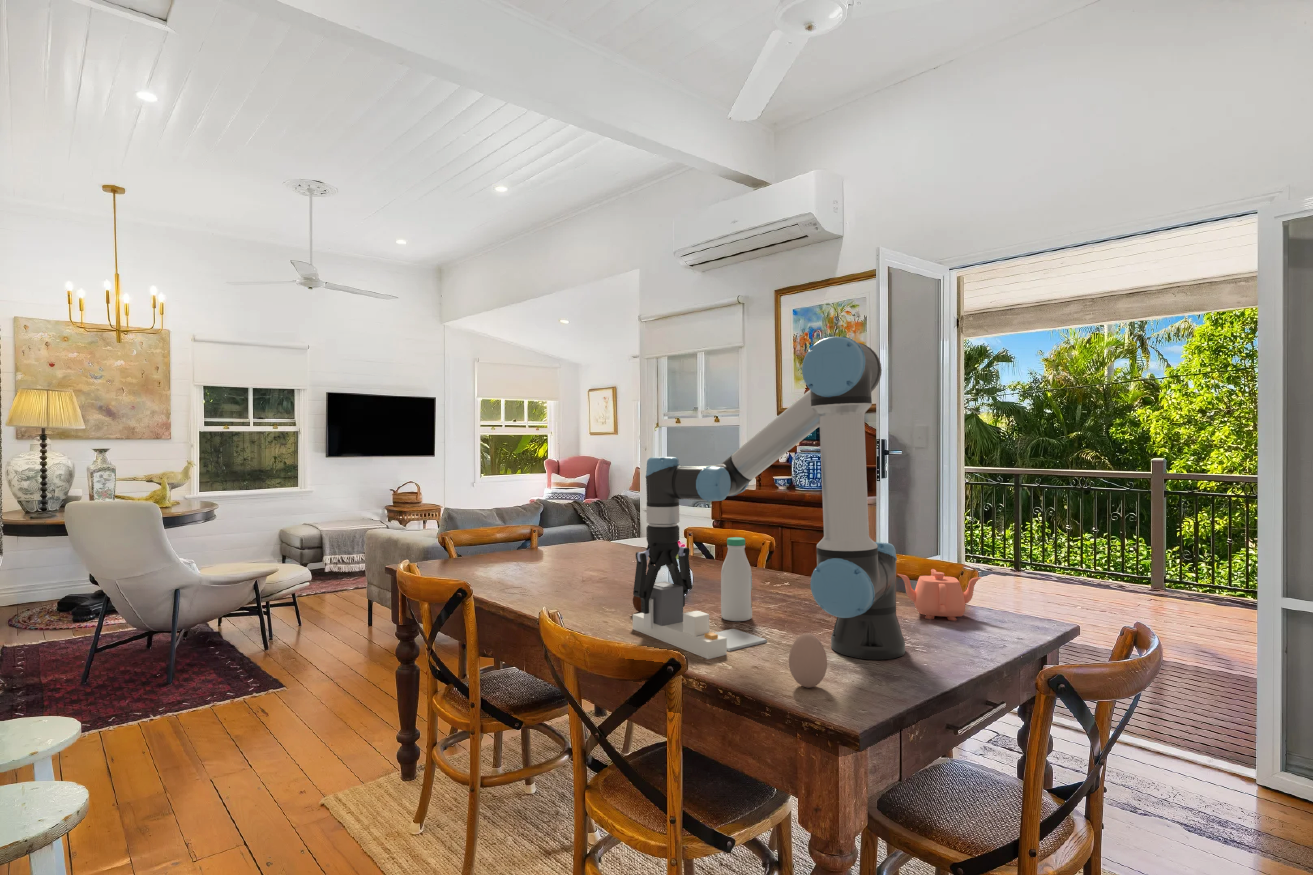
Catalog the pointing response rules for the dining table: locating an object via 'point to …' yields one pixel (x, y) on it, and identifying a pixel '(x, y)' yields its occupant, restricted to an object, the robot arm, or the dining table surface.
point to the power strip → (684, 638)
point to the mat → (740, 639)
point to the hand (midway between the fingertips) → (663, 624)
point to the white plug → (695, 623)
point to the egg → (808, 660)
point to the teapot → (939, 595)
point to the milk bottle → (736, 583)
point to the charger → (667, 603)
